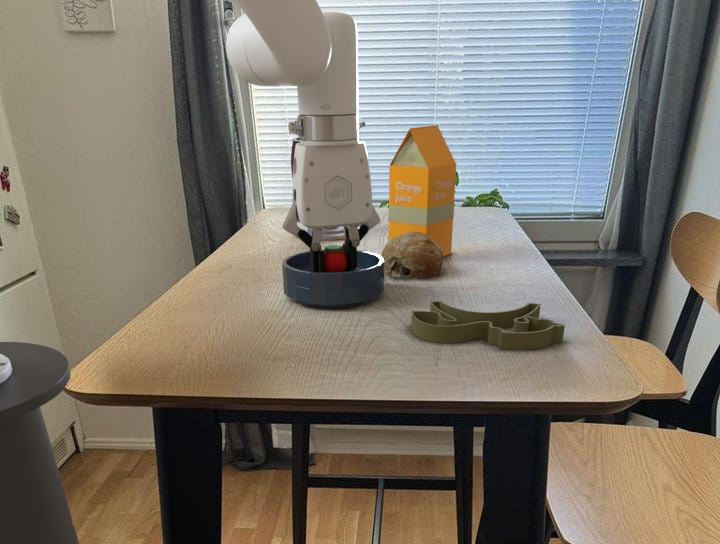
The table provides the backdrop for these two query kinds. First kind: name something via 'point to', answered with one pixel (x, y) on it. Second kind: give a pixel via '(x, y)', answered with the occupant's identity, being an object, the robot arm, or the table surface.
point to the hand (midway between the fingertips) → (334, 274)
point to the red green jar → (334, 259)
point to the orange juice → (423, 187)
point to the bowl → (333, 282)
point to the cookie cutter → (487, 326)
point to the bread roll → (412, 256)
